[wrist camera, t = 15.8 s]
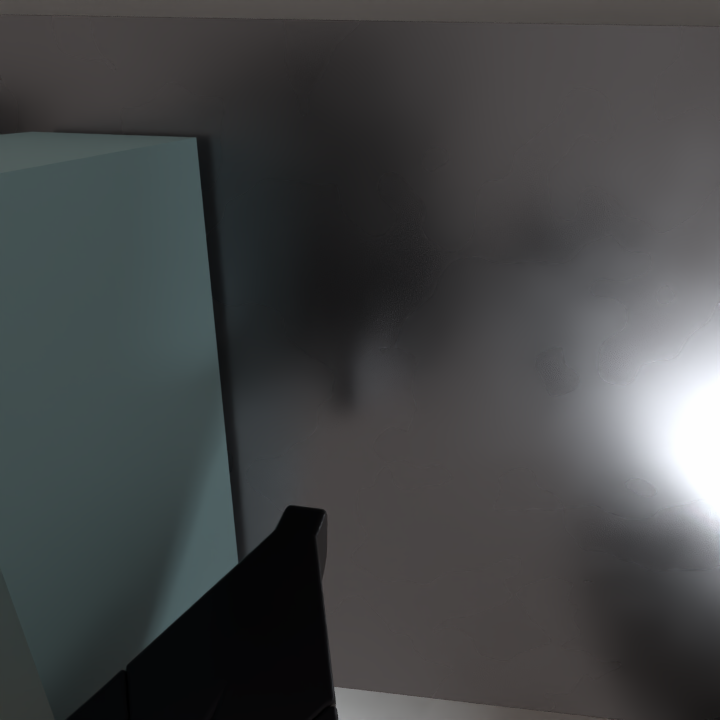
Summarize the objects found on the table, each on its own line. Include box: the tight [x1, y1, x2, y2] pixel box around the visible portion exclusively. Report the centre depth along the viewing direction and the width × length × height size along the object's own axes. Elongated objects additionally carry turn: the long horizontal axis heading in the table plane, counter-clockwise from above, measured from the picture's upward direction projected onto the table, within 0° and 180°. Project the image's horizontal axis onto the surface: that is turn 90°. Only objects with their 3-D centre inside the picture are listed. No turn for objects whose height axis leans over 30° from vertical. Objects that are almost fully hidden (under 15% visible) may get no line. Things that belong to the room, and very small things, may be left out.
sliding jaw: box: [0, 132, 238, 720], centre depth 8 cm, size 2×11×5 cm, turn 179°
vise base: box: [0, 15, 720, 720], centre depth 8 cm, size 20×14×6 cm
